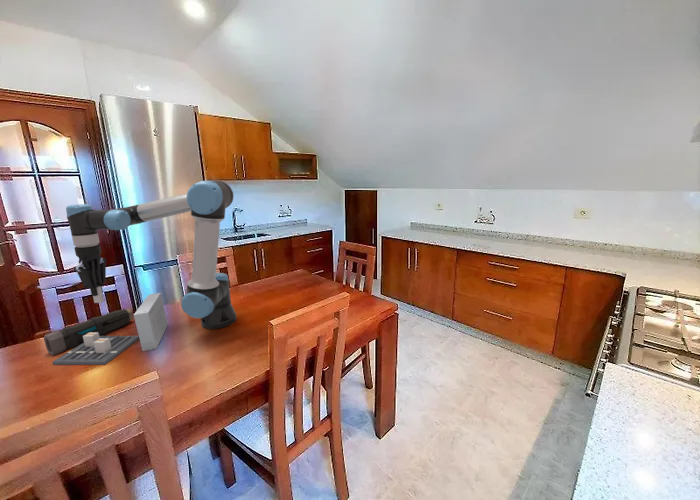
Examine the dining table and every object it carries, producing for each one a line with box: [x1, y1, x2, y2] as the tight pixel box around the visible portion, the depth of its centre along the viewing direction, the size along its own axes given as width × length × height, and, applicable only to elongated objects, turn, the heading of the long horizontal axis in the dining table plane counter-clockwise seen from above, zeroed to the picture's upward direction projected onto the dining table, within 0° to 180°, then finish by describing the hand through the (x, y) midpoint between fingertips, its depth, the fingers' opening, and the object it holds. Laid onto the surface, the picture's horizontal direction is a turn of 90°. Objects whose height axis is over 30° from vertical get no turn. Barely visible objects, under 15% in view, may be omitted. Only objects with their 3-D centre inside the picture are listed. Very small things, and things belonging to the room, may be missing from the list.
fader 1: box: [83, 332, 100, 347], centre depth 117 cm, size 4×3×5 cm
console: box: [52, 335, 140, 366], centre depth 116 cm, size 19×18×2 cm
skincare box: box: [133, 292, 169, 352], centre depth 124 cm, size 21×5×16 cm, turn 20°
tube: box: [43, 308, 135, 356], centre depth 126 cm, size 11×7×30 cm
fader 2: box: [93, 338, 111, 353], centre depth 113 cm, size 4×3×5 cm
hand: (99, 302), depth 120 cm, fingers closed
